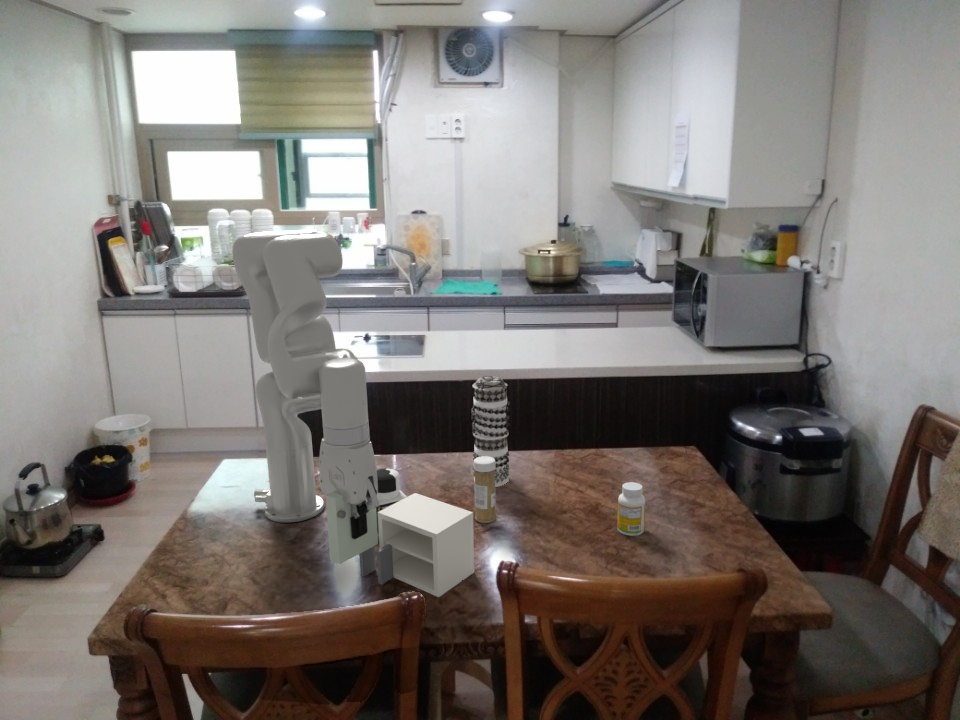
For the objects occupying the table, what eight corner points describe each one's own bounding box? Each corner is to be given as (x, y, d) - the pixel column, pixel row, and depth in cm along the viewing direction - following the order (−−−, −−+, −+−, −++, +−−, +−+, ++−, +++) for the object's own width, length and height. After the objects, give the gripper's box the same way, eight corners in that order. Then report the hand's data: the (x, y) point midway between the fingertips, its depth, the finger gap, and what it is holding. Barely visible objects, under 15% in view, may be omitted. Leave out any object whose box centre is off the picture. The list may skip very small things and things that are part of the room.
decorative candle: (515, 485, 170) (515, 382, 164) (476, 489, 168) (474, 386, 162) (505, 470, 178) (504, 372, 172) (468, 474, 176) (466, 375, 170)
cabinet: (360, 575, 133) (356, 515, 130) (409, 546, 143) (406, 490, 140) (427, 605, 124) (424, 541, 121) (474, 572, 134) (473, 512, 130)
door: (330, 560, 124) (325, 495, 121) (368, 539, 131) (365, 477, 128) (342, 566, 122) (338, 499, 119) (381, 545, 129) (377, 481, 126)
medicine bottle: (376, 537, 147) (373, 482, 144) (365, 522, 153) (361, 469, 150) (409, 528, 150) (407, 474, 147) (396, 515, 156) (394, 462, 153)
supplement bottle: (627, 521, 152) (628, 478, 149) (649, 530, 148) (651, 485, 146) (611, 530, 148) (613, 486, 146) (634, 539, 144) (636, 494, 142)
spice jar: (500, 520, 153) (499, 460, 150) (482, 526, 151) (481, 465, 147) (488, 512, 157) (487, 453, 154) (470, 517, 155) (469, 458, 151)
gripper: (297, 429, 123) (305, 529, 128) (363, 449, 114) (370, 555, 118) (331, 418, 129) (338, 513, 134) (397, 435, 120) (402, 537, 124)
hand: (353, 532), depth 126 cm, fingers closed on door, 2 cm apart
